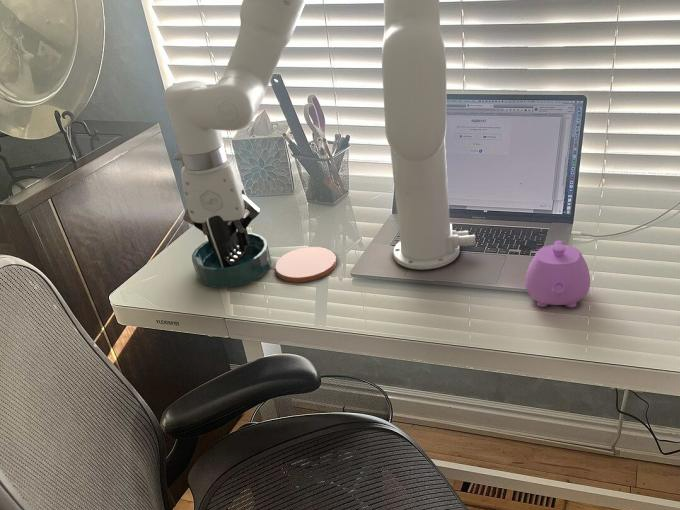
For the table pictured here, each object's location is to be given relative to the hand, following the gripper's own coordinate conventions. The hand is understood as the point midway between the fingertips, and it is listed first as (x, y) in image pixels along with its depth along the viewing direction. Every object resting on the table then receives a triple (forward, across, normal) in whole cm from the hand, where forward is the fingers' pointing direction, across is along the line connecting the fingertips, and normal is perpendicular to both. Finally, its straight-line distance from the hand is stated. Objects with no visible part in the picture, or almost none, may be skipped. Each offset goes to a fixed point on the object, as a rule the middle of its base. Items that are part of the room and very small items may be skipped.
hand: (231, 248), depth 130 cm
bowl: (+5, 0, 0) cm, 5 cm away
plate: (+5, +14, 0) cm, 14 cm away
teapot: (+6, +58, -16) cm, 61 cm away
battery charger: (+3, 0, 0) cm, 3 cm away
